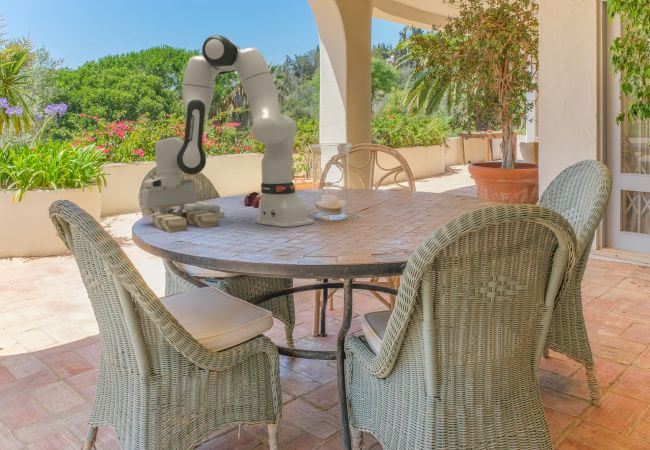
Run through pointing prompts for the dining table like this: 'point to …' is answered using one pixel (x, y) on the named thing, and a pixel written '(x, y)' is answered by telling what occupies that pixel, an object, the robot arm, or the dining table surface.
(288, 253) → the dining table surface
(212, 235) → the dining table surface
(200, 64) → the robot arm
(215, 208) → the plate with parallel rods
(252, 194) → the teeth model
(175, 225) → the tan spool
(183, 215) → the axle
